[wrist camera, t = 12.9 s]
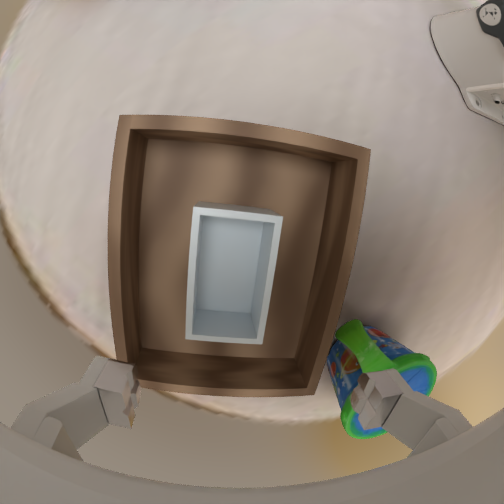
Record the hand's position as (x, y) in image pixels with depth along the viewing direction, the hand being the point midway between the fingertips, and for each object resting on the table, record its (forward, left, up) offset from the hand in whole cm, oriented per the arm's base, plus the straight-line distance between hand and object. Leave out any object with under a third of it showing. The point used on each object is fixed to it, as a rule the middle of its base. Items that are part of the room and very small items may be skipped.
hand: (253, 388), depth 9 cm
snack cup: (-16, +10, -17) cm, 25 cm away
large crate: (0, 0, -17) cm, 17 cm away
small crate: (0, 0, -16) cm, 16 cm away
